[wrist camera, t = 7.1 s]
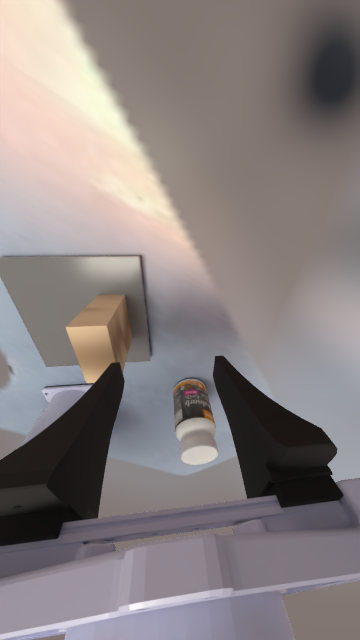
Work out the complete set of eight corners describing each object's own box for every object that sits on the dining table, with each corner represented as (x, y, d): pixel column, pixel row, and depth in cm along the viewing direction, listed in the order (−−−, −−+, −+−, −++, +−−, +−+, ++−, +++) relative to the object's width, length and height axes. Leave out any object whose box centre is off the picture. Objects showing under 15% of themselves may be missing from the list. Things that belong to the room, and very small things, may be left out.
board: (150, 355, 25) (150, 360, 24) (51, 360, 24) (46, 366, 23) (140, 255, 18) (138, 256, 17) (1, 256, 17) (-9, 258, 16)
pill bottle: (209, 378, 28) (230, 444, 20) (199, 400, 31) (213, 467, 22) (177, 375, 27) (183, 443, 19) (169, 397, 30) (172, 467, 21)
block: (132, 338, 22) (119, 380, 16) (108, 339, 21) (86, 383, 15) (125, 294, 19) (106, 325, 13) (97, 295, 19) (65, 327, 12)
